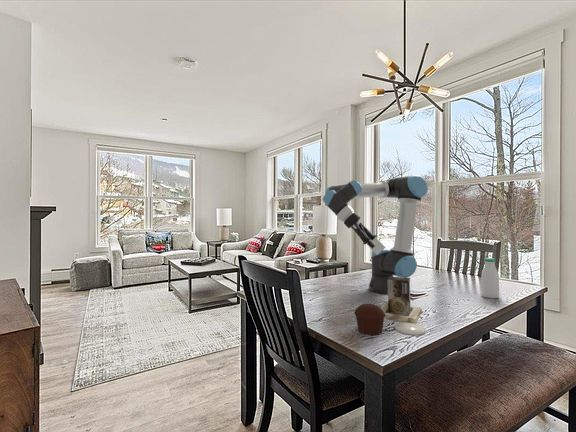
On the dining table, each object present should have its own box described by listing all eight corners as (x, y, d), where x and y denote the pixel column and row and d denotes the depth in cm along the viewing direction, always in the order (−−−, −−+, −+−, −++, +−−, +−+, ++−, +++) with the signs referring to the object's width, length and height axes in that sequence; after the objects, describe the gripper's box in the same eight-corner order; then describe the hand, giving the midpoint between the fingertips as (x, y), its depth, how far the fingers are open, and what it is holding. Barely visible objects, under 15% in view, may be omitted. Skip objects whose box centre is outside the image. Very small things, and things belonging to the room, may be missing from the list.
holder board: (376, 317, 134) (375, 312, 134) (385, 307, 148) (385, 302, 148) (415, 323, 126) (415, 318, 126) (421, 312, 140) (421, 307, 140)
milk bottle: (501, 299, 158) (501, 259, 158) (484, 298, 160) (484, 259, 159) (494, 294, 166) (494, 257, 165) (478, 294, 167) (478, 257, 167)
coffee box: (410, 313, 138) (410, 277, 138) (409, 318, 132) (409, 280, 132) (389, 311, 142) (389, 275, 142) (387, 315, 136) (387, 278, 136)
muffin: (390, 330, 120) (390, 304, 120) (377, 339, 112) (377, 311, 111) (362, 323, 128) (362, 298, 127) (348, 331, 119) (348, 305, 119)
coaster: (391, 331, 119) (391, 329, 119) (398, 322, 128) (398, 320, 128) (423, 337, 113) (423, 335, 113) (427, 327, 122) (427, 325, 122)
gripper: (349, 222, 159) (379, 253, 153) (336, 223, 136) (370, 260, 131) (359, 211, 157) (390, 243, 151) (348, 211, 134) (384, 248, 128)
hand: (381, 251), depth 141 cm, fingers open, 13 cm apart
